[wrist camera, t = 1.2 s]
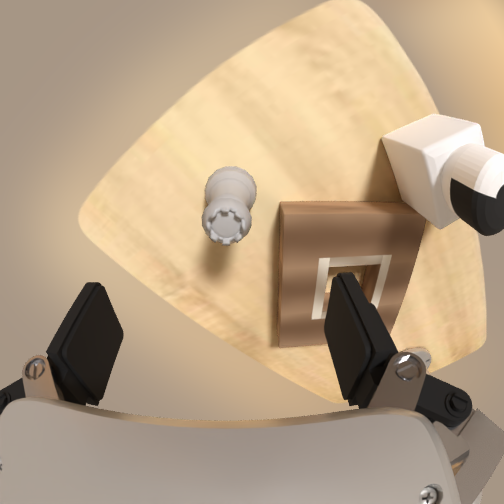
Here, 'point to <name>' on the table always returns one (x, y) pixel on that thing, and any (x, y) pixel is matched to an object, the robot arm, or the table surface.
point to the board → (342, 260)
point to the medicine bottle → (448, 172)
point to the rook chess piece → (228, 205)
